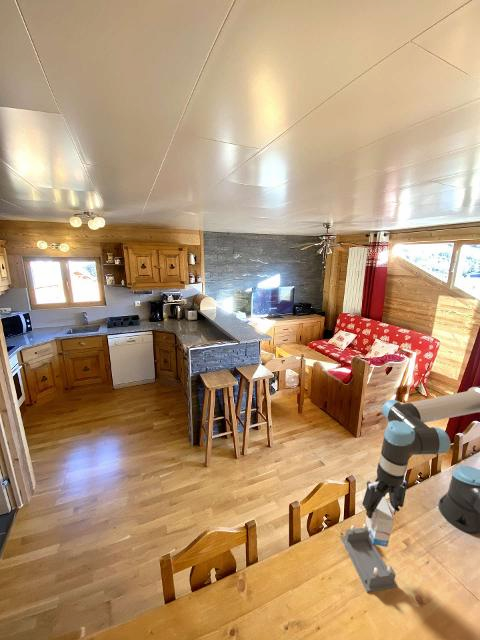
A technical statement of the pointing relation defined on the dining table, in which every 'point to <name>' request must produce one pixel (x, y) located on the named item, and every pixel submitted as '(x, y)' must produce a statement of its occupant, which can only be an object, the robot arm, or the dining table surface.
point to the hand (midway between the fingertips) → (378, 522)
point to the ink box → (381, 524)
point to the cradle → (368, 560)
